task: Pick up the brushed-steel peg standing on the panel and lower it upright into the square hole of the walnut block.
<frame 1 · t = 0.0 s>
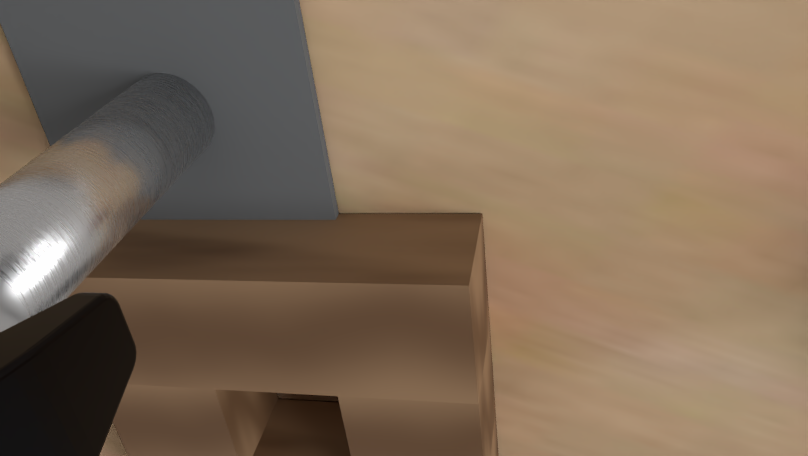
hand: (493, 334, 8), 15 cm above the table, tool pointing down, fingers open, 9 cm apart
peg: (171, 116, 24), resting on panel
panel: (176, 111, 24), on the table
hole block: (319, 361, 29), on the table
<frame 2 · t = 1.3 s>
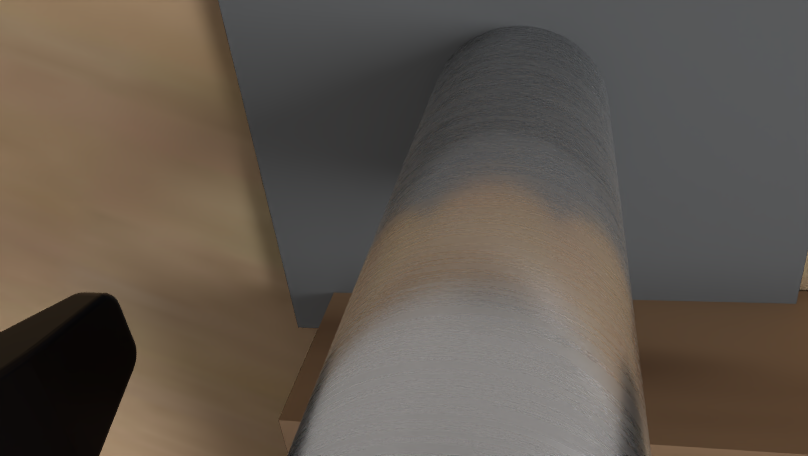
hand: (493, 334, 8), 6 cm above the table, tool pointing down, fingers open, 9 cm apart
peg: (517, 112, 12), resting on panel
panel: (519, 103, 13), on the table
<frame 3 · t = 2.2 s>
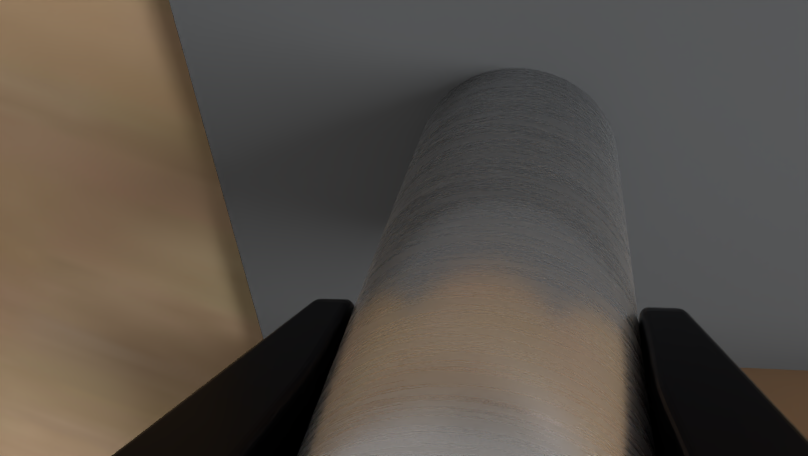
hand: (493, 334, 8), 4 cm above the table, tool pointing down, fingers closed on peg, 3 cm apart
peg: (515, 162, 11), resting on panel, touching gripper
panel: (516, 150, 11), on the table
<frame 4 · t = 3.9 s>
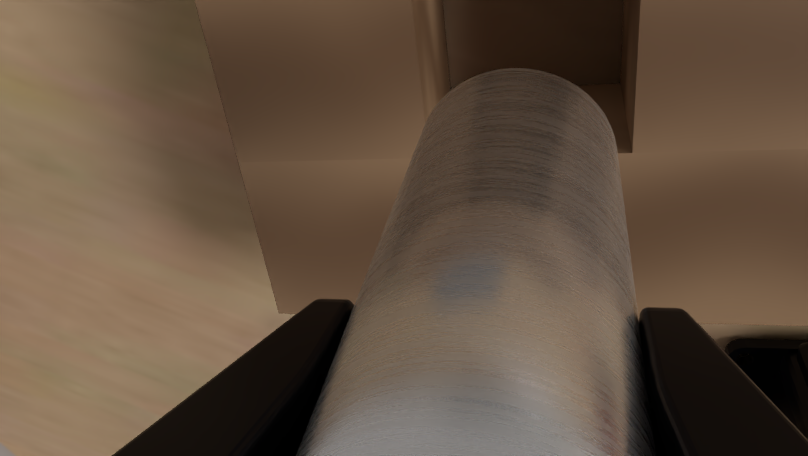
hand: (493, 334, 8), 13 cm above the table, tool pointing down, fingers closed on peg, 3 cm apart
peg: (515, 162, 11), point 9 cm above the table, touching gripper
hole block: (531, 3, 18), on the table
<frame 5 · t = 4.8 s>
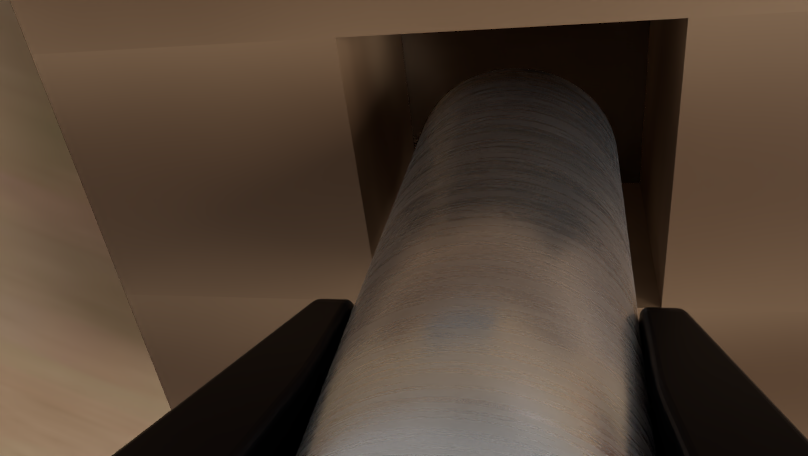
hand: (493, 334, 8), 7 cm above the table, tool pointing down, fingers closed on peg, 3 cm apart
peg: (515, 162, 11), point 3 cm above the table, touching gripper
hole block: (522, 80, 14), on the table
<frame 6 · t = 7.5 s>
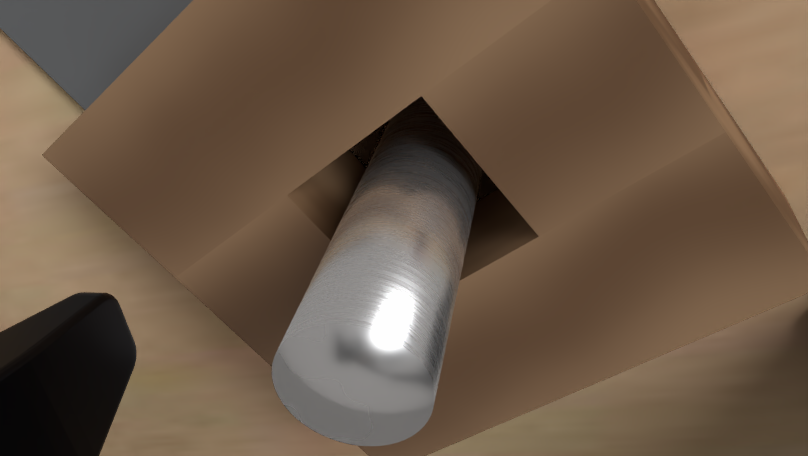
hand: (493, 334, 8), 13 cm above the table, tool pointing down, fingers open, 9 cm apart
peg: (435, 143, 21), resting in hole block
hole block: (434, 144, 21), on the table
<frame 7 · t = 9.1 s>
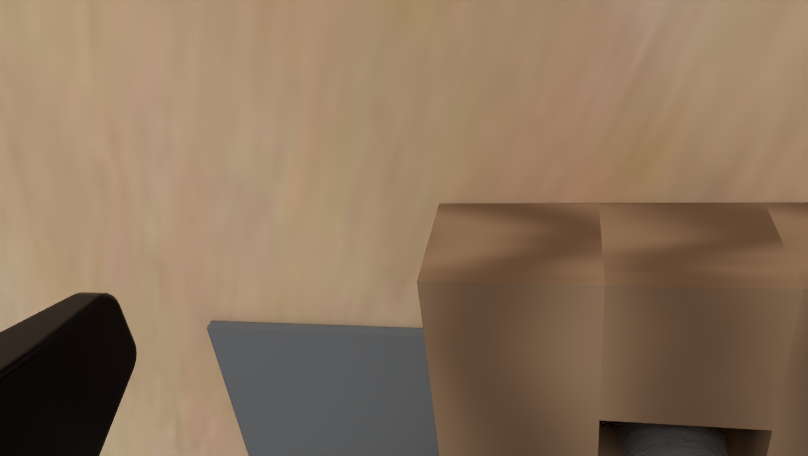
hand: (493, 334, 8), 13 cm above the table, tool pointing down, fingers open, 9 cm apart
peg: (661, 381, 24), resting in hole block
panel: (360, 424, 28), on the table
hole block: (661, 382, 24), on the table
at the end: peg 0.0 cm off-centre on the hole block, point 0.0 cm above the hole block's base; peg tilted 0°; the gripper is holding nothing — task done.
